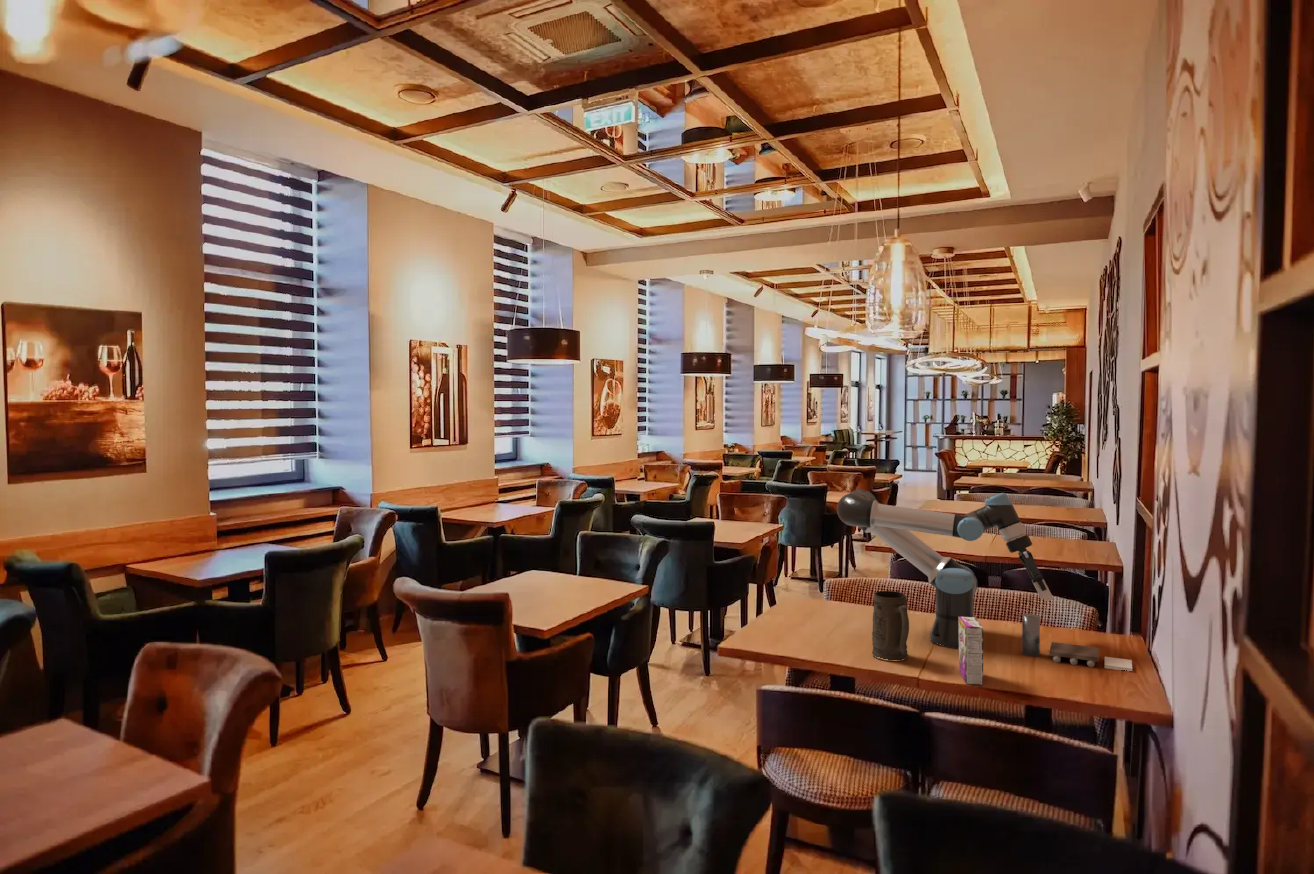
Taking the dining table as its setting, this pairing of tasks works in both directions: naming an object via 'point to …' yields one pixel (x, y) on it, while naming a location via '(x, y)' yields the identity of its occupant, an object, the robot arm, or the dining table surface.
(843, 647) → the dining table surface
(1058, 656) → the roller slab
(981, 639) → the candy bar box
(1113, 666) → the plate
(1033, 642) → the steel roller
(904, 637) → the beer stein
